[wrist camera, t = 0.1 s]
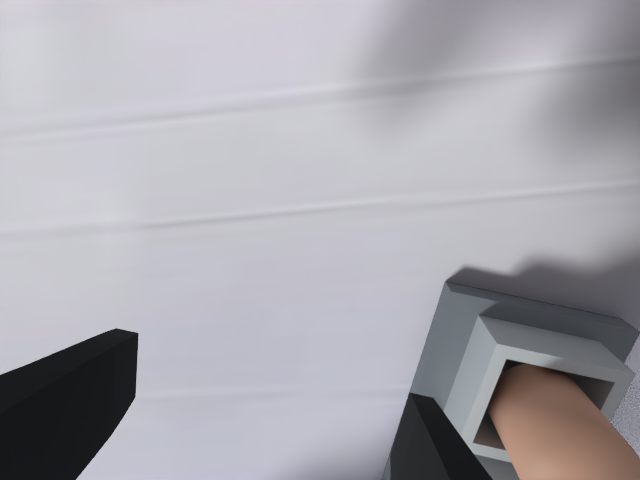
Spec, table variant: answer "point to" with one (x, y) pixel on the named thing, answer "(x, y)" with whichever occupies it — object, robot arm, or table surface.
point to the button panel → (514, 360)
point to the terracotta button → (557, 429)
